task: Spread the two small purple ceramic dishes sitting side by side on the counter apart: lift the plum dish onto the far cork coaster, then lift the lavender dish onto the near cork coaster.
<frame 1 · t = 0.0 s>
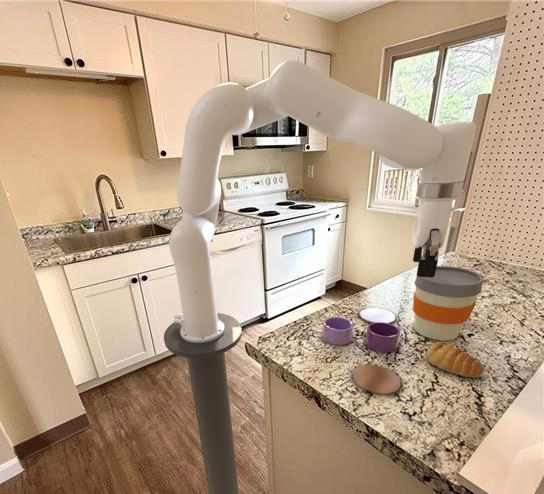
hand: (422, 268, 71), 17 cm above the countertop, tool pointing down, fingers open, 9 cm apart
reusable coffee cup: (435, 331, 77), on the countertop
lavender dish: (336, 337, 79), on the countertop
plum dish: (381, 344, 75), on the countertop
pastry: (450, 365, 66), on the countertop
far coaster: (377, 316, 86), on the countertop
near coaster: (375, 379, 64), on the countertop
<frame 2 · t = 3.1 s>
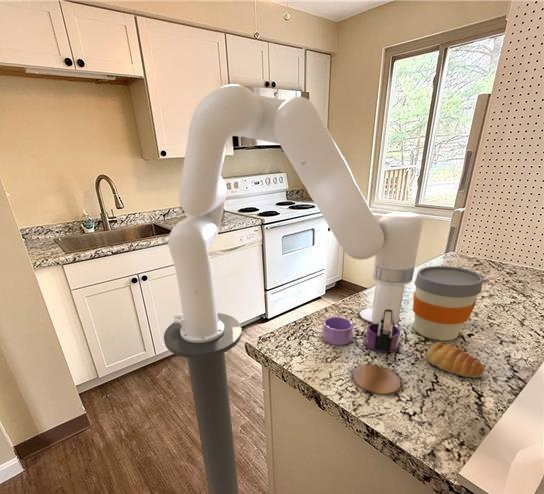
hand: (381, 340, 74), 1 cm above the countertop, tool pointing down, fingers closed on plum dish, 6 cm apart
plum dish: (381, 344, 75), on the countertop, touching gripper
everything else where it was.
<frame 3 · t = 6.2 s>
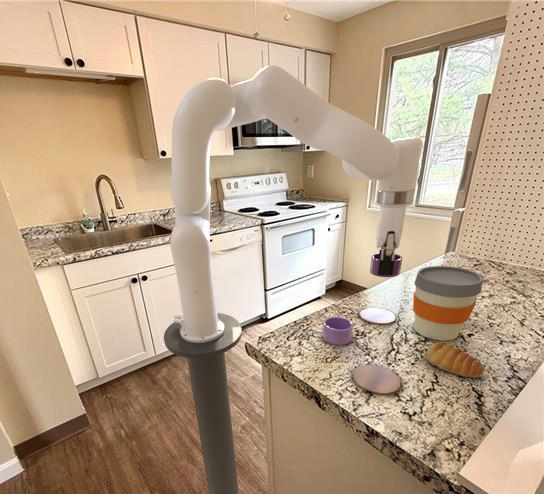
hand: (384, 268, 79), 14 cm above the countertop, tool pointing down, fingers closed on plum dish, 6 cm apart
plum dish: (384, 272, 80), point 14 cm above the countertop, touching gripper
everything else where it was.
when the fingers open (1 cm above the countertop, at t = 9.6 s): plum dish stays where it is, resting on far coaster.
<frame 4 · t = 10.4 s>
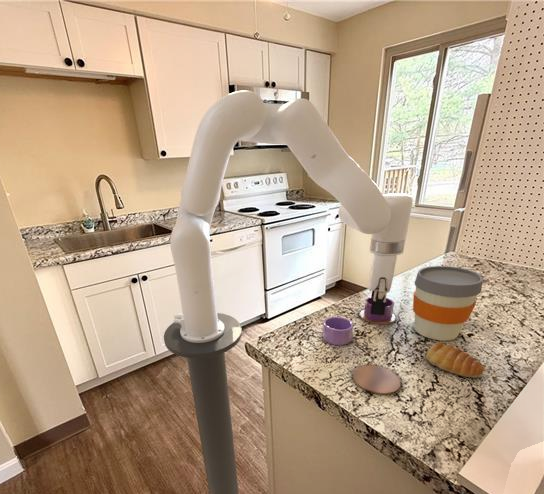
hand: (377, 306, 85), 3 cm above the countertop, tool pointing down, fingers open, 9 cm apart
plum dish: (377, 315, 86), resting on far coaster
everything else where it was.
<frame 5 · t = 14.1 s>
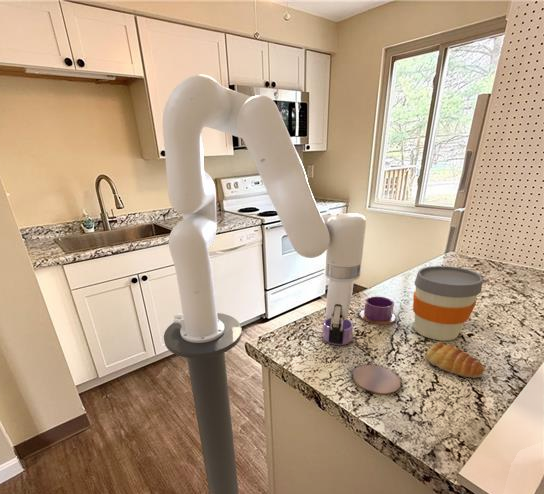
hand: (337, 334, 79), 1 cm above the countertop, tool pointing down, fingers closed on lavender dish, 6 cm apart
lavender dish: (336, 337, 79), on the countertop, touching gripper
everything else where it was.
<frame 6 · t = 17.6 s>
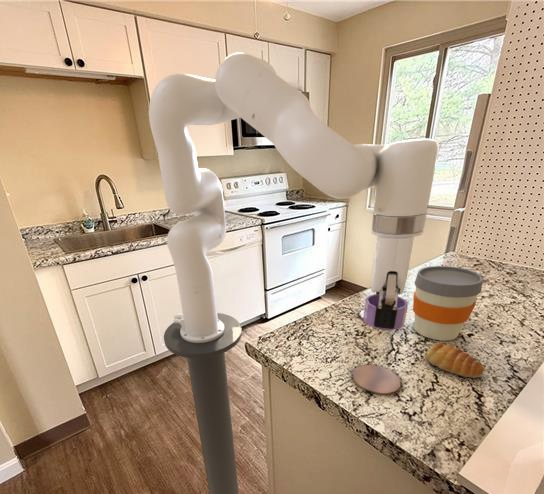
hand: (383, 316, 59), 15 cm above the countertop, tool pointing down, fingers closed on lavender dish, 6 cm apart
lavender dish: (383, 321, 59), point 14 cm above the countertop, touching gripper
everything else where it was.
when the fingers open (1 cm above the countertop, at t = 21.0 s): lavender dish stays where it is, resting on near coaster.
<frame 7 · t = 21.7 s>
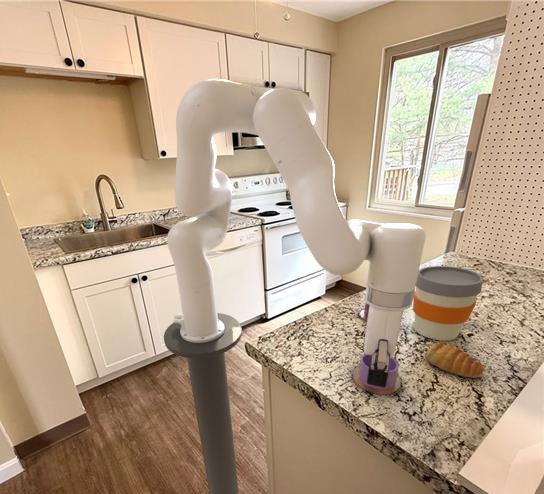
hand: (376, 369, 63), 3 cm above the countertop, tool pointing down, fingers open, 9 cm apart
lavender dish: (376, 378, 64), resting on near coaster
everything else where it was.
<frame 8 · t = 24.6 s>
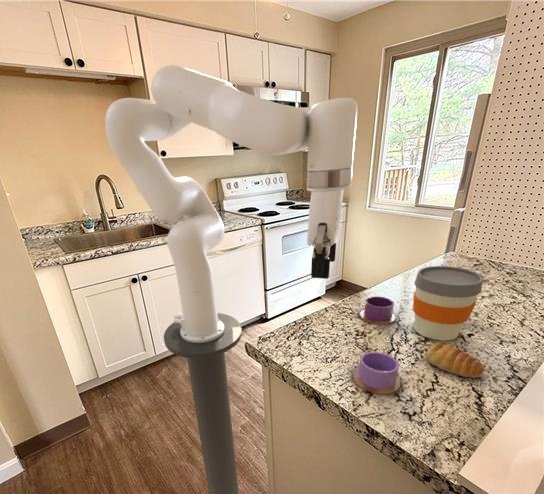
hand: (323, 268, 63), 22 cm above the countertop, tool pointing down, fingers open, 9 cm apart
nothing on the countertop moved.
at the end: plum dish 0.1 cm off-centre on the far coaster, point 0.4 cm above the far coaster's base; lavender dish 0.1 cm off-centre on the near coaster, point 0.4 cm above the near coaster's base; plum dish tilted 0° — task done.
